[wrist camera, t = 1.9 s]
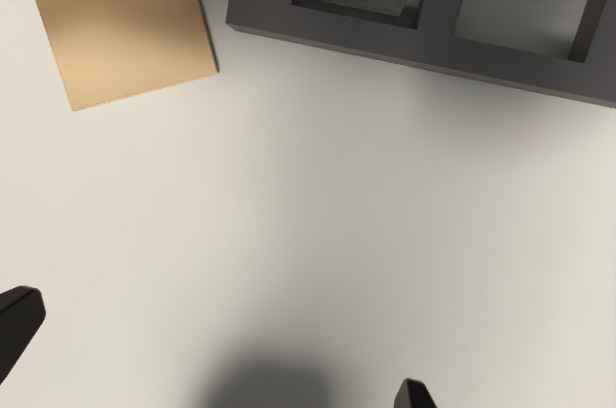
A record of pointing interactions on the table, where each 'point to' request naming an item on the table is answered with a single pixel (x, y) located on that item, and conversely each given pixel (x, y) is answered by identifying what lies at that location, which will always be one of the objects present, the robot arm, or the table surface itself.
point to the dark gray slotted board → (449, 46)
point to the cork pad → (125, 46)
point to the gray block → (373, 5)
